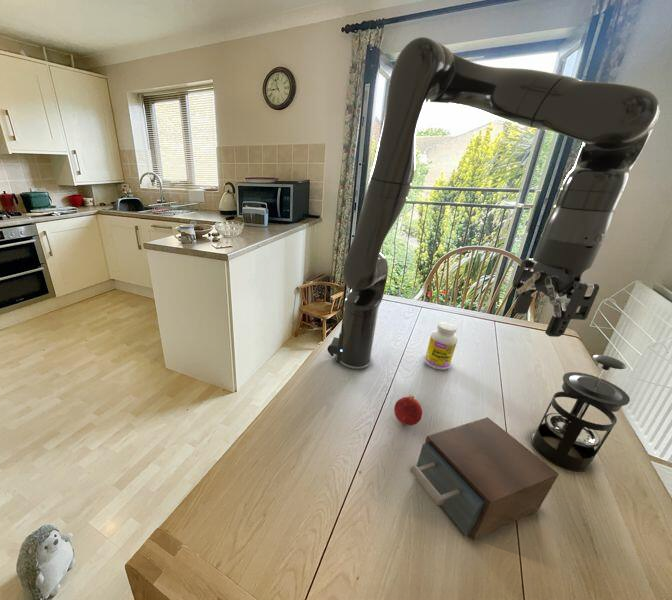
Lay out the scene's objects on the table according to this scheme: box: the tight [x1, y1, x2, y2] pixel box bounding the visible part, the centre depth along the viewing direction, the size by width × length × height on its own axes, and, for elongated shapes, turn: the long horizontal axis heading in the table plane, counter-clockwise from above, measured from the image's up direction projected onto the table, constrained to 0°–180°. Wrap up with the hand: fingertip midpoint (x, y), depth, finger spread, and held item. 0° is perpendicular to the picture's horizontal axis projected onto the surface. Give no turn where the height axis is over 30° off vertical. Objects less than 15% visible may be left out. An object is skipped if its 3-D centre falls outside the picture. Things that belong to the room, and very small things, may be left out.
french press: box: [530, 354, 631, 473], centre depth 60 cm, size 12×9×23 cm
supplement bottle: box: [424, 321, 458, 370], centre depth 89 cm, size 7×7×13 cm
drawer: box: [410, 442, 485, 537], centre depth 54 cm, size 18×11×8 cm, turn 108°
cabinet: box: [424, 416, 560, 541], centre depth 55 cm, size 15×13×10 cm
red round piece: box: [393, 394, 424, 426], centre depth 69 cm, size 6×6×8 cm
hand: (535, 323), depth 57 cm, fingers open, 8 cm apart
